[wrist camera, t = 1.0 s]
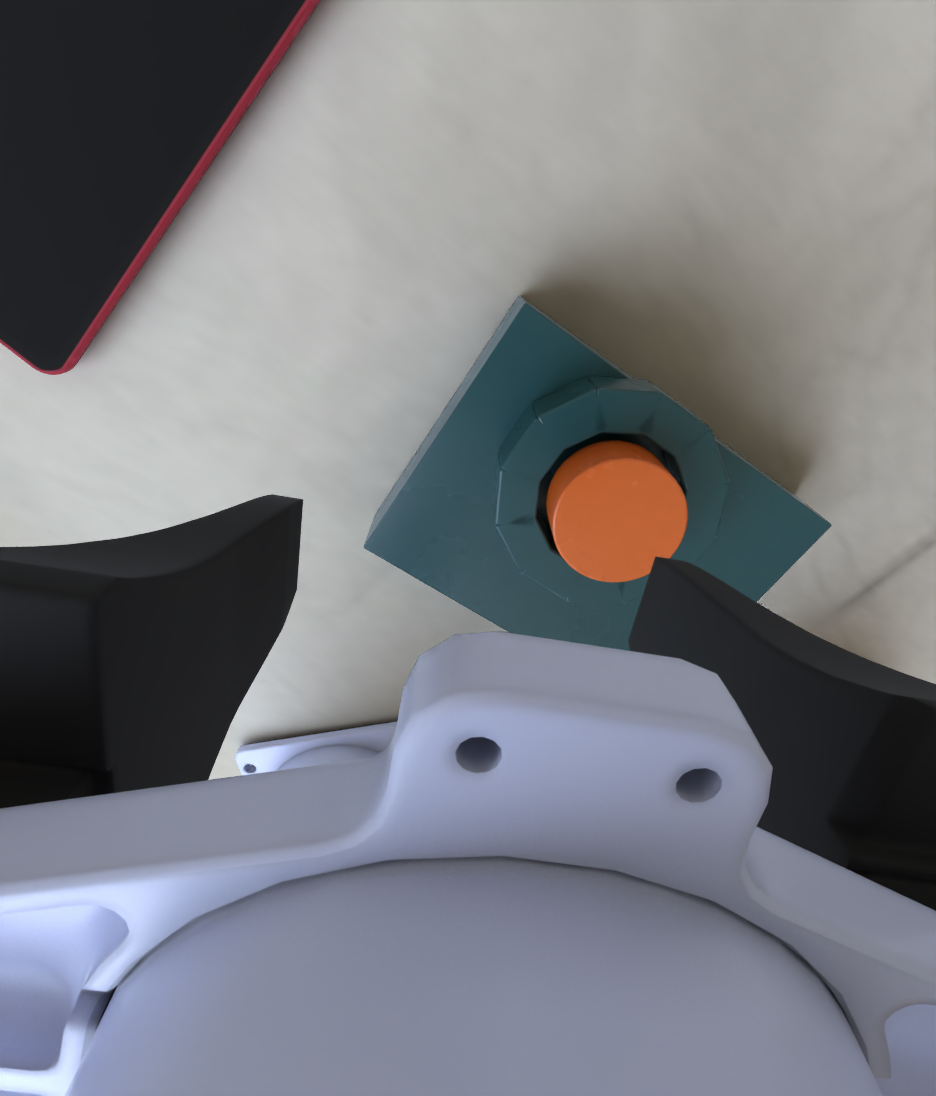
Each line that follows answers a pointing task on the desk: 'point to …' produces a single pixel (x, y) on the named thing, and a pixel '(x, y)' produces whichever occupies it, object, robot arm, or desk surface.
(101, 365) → the desk surface
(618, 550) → the button
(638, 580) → the teal button housing
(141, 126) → the smartphone
